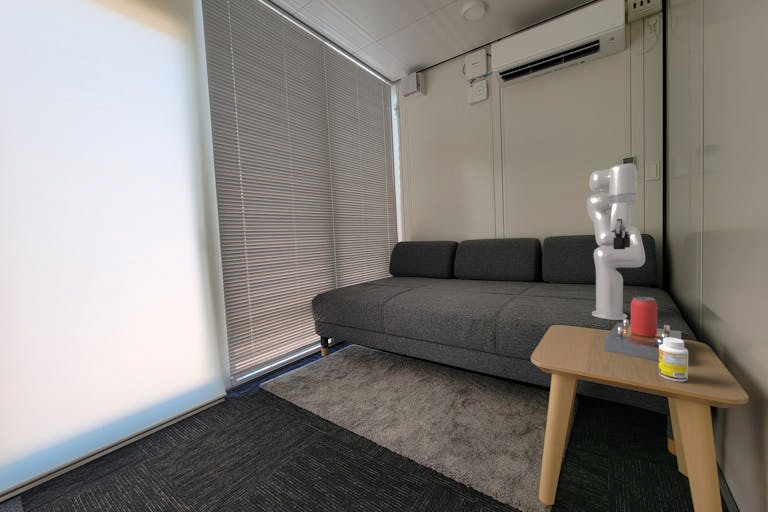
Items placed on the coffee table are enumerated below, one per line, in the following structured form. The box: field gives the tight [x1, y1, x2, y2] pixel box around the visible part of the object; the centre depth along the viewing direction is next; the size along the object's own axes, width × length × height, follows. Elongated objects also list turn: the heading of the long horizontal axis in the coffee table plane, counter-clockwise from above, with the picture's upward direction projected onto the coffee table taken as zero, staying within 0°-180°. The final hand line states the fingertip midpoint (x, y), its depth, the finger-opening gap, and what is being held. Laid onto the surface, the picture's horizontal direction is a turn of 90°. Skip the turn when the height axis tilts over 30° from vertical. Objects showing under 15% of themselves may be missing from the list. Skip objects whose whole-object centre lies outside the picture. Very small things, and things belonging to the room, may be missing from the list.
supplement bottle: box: [658, 337, 689, 382], centre depth 78 cm, size 6×6×10 cm
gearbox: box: [604, 319, 682, 362], centre depth 99 cm, size 25×17×7 cm
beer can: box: [630, 296, 658, 337], centre depth 98 cm, size 7×7×12 cm
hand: (621, 248), depth 107 cm, fingers open, 9 cm apart
